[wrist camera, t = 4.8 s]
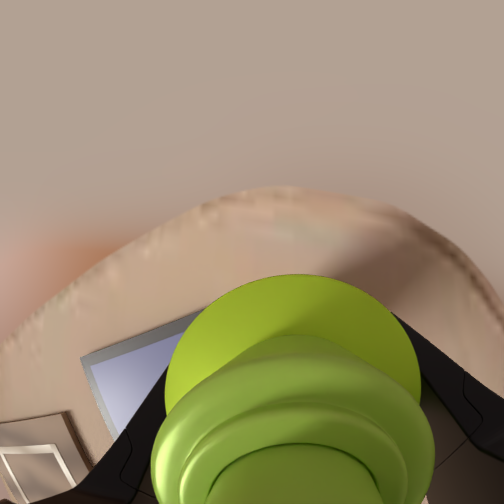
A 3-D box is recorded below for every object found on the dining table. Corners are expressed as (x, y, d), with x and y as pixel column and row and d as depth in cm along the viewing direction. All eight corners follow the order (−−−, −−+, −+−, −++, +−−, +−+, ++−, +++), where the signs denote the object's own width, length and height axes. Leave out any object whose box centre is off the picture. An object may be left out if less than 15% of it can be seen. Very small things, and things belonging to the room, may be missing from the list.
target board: (155, 559, 18) (153, 563, 17) (50, 543, 19) (47, 545, 18) (65, 412, 23) (60, 414, 22) (-16, 425, 23) (-21, 426, 22)
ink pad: (278, 454, 20) (277, 460, 19) (144, 482, 21) (138, 487, 19) (213, 306, 23) (209, 306, 22) (86, 356, 23) (78, 357, 22)
